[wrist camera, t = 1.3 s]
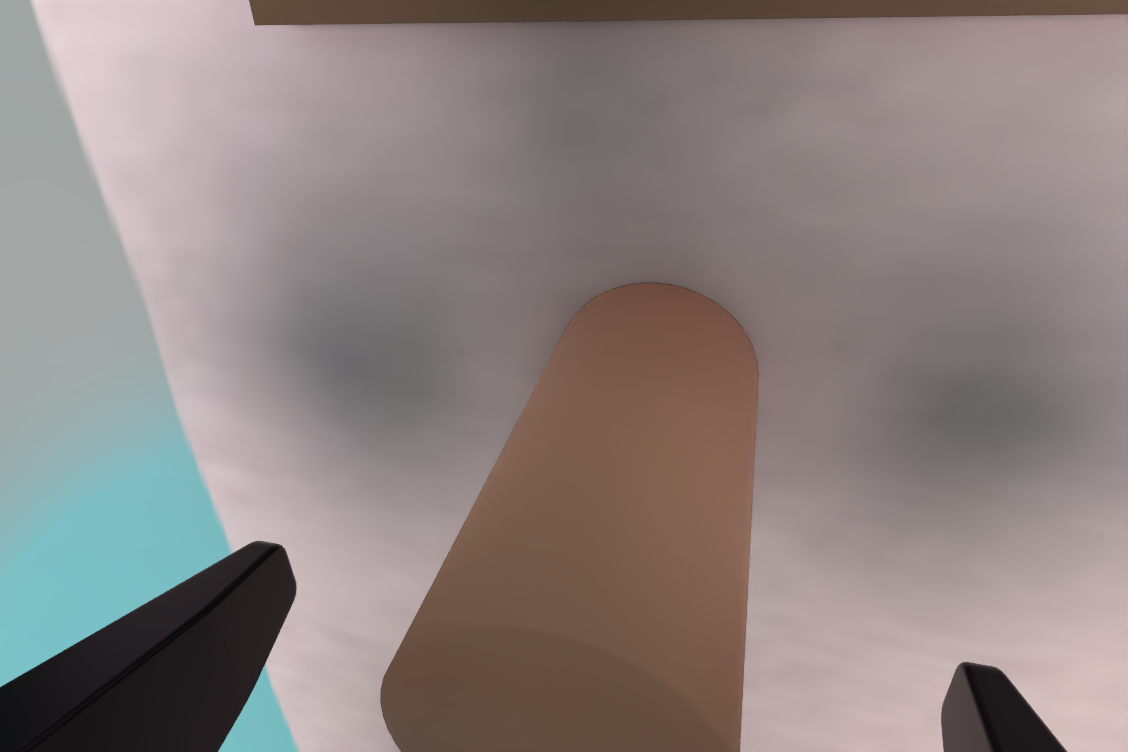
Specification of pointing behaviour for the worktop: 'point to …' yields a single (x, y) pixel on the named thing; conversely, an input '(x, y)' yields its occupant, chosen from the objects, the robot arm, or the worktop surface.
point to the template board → (648, 10)
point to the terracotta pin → (600, 551)
